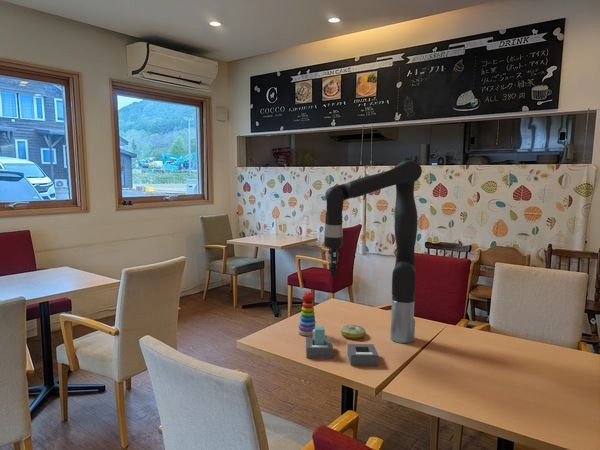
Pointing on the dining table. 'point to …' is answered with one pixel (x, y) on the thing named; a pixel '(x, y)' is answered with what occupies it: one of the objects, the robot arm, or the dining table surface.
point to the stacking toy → (307, 315)
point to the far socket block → (319, 349)
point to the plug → (319, 335)
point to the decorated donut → (353, 331)
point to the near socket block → (362, 355)
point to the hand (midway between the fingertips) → (332, 273)
